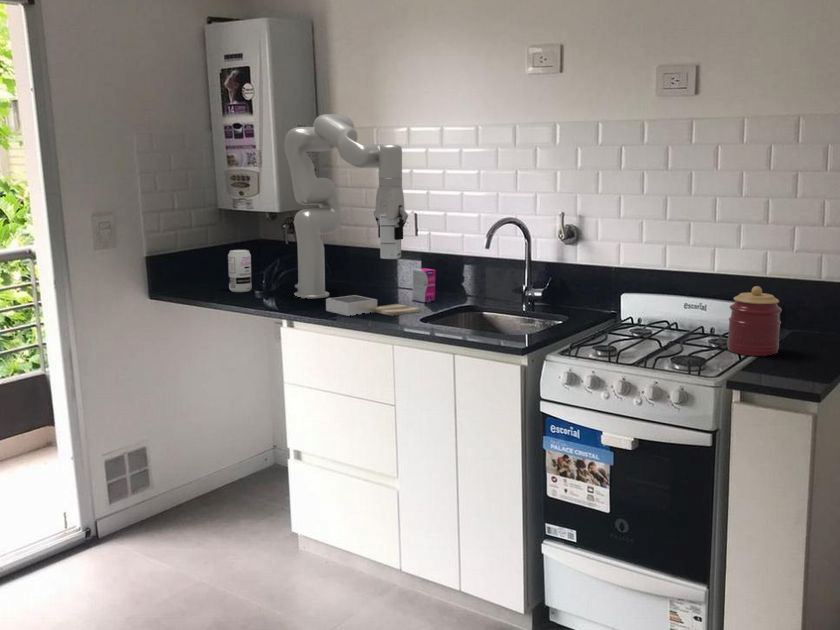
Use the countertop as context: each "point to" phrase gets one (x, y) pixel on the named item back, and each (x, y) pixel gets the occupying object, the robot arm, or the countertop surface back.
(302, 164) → the robot arm
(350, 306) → the flat grey box
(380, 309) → the birch board
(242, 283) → the supplement can
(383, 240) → the syrup box
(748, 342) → the canister
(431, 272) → the supplement box
